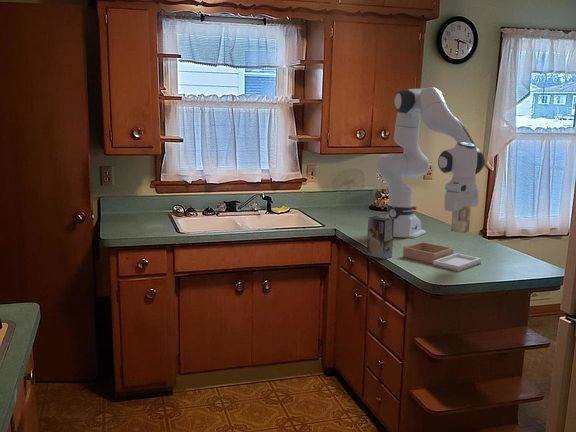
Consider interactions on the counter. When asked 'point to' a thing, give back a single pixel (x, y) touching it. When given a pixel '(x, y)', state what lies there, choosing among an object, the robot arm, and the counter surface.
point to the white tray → (457, 262)
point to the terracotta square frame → (426, 251)
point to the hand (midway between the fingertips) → (460, 219)
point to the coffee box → (380, 237)
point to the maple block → (461, 221)
